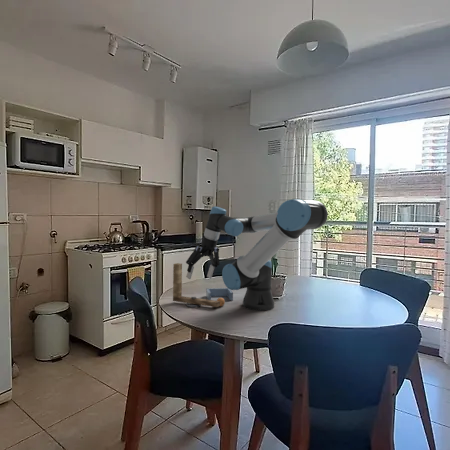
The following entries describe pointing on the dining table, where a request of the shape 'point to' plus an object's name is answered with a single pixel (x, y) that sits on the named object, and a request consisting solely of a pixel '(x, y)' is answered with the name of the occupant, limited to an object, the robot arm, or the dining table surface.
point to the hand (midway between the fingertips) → (198, 277)
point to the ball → (221, 301)
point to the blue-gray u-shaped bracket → (219, 292)
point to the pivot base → (192, 305)
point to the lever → (178, 290)
